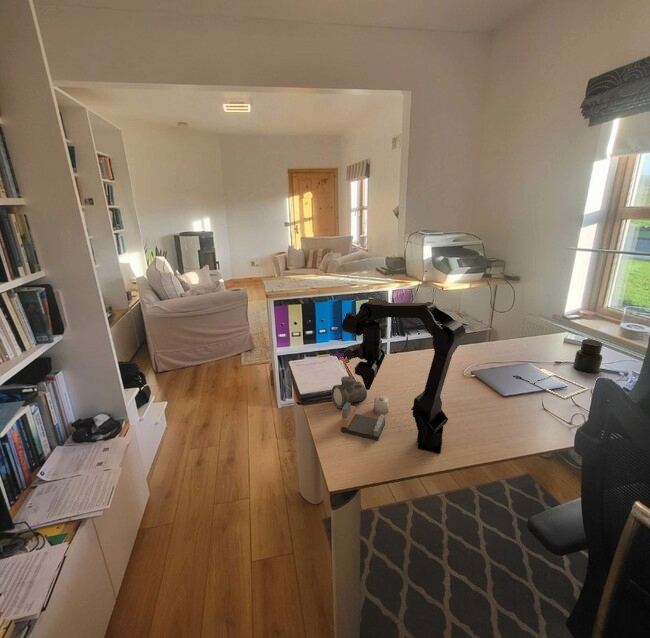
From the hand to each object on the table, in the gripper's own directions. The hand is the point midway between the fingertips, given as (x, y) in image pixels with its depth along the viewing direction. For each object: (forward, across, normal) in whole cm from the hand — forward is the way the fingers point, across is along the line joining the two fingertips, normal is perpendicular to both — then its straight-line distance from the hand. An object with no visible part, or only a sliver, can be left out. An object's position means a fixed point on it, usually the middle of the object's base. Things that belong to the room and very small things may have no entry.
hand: (371, 382), depth 116 cm
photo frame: (+14, -44, +62) cm, 77 cm away
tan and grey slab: (+11, +8, -6) cm, 14 cm away
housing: (+12, -4, +3) cm, 13 cm away
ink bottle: (+13, -62, +78) cm, 100 cm away
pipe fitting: (+12, -5, -9) cm, 16 cm away
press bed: (+12, +8, -1) cm, 15 cm away
